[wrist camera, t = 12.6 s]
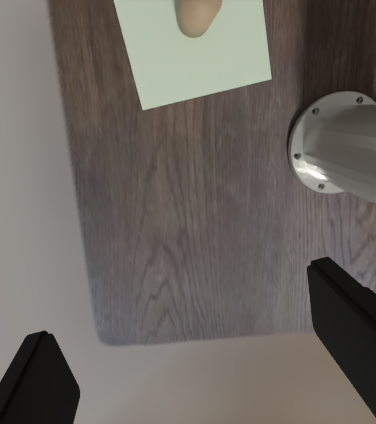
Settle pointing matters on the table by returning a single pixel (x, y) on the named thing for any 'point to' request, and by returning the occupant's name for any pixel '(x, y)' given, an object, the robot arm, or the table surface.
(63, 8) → the table surface
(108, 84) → the table surface
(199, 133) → the table surface
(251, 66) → the lid
